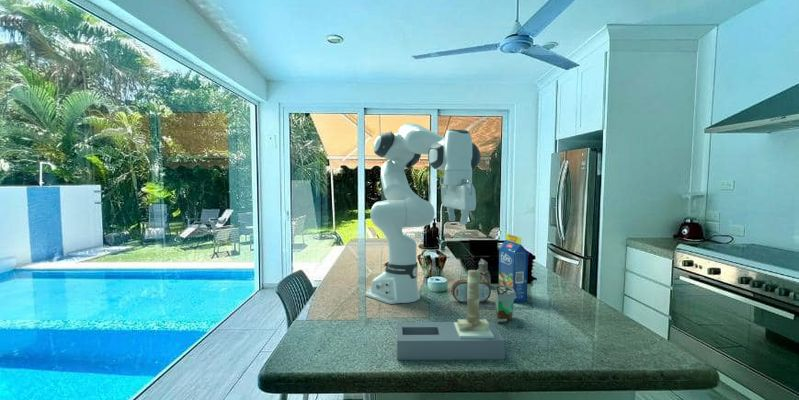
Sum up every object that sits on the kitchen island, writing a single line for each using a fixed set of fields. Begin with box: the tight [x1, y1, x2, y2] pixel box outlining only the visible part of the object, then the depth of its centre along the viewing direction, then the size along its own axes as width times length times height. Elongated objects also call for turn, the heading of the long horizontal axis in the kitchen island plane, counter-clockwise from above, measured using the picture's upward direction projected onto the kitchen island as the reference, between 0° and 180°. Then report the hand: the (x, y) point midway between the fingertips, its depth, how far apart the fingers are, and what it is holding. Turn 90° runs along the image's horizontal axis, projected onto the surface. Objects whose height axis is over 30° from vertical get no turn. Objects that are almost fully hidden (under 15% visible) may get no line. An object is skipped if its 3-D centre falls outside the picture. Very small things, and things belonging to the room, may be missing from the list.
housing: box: [396, 321, 506, 361], centre depth 96 cm, size 28×12×6 cm, turn 91°
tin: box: [450, 279, 492, 303], centre depth 134 cm, size 15×3×8 cm, turn 92°
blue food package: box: [498, 232, 529, 303], centre depth 139 cm, size 6×12×25 cm, turn 10°
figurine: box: [476, 258, 492, 288], centre depth 154 cm, size 7×7×12 cm
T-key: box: [457, 269, 489, 331], centre depth 96 cm, size 8×3×16 cm, turn 91°
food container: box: [495, 284, 516, 325], centre depth 117 cm, size 12×6×10 cm, turn 168°
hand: (457, 222), depth 113 cm, fingers open, 8 cm apart
